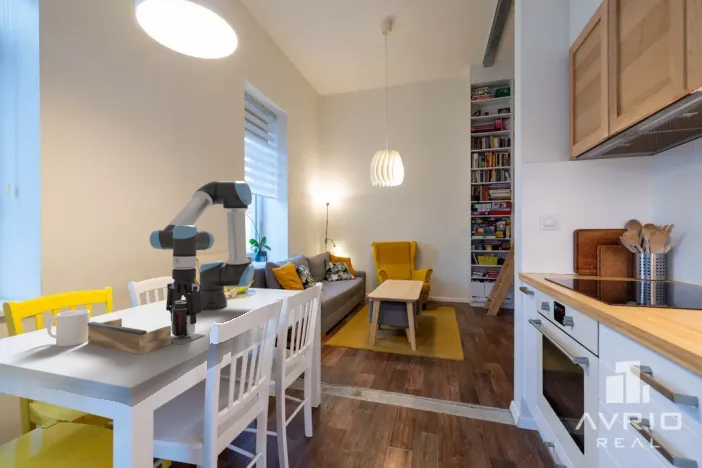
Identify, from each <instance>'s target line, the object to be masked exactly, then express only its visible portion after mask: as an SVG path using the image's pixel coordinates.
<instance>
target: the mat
mask: <svg viewBox="0 0 702 468" xmlns="http://www.w3.org/2000/svg"><path fill="white" fill-rule="evenodd" d="M205 336H206V335H205V334H202V333H196V332H194V333H191V334H190V335H187V336H183V337H177V336H175V335H173V334H172V335H171V344H174V345H177V346H178V345H179V346H183V345H185V344H188V343H190V342H193V341H196V340H198V339H200V338H203V337H205Z"/></svg>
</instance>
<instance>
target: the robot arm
mask: <svg viewBox="0 0 702 468" xmlns="http://www.w3.org/2000/svg"><path fill="white" fill-rule="evenodd" d="M252 200H253V194H252V190H251V187H250V185H249V184H248V183H247V182H245V181H241V180H240V181H239V180H214V181H210V182H208V183H205V184H204V185H202V186H200V188H198V189H196V191H194V192H193V194H192V196H191V200H189V202H187V204H186V205H185V206H184V207H183V208H182V209H181V210H180V211H179V212H178V213H177V214H176V215H175V217H174V218H173V219H172V220H171V221H170V222H169V223H168V224H167V226H165V227H164V228H163V229H162V230H161V229H157V230H153V231H152V232H151V233H150V235H149V244H150V246H151V247H152V248H153V249H156V250H164V251H165V250H169V251H170V250H172V268H173V269H172V271H171V272H172V273H171V278H172V280H173V282H171V283H167V284H166V288H167V296H166V305H165V306H166V307H165V310H166V311H167V312H168V311H169V313H170V322H171V325H170V326H171V332H172V308H173V305H174V304H175V301H179V300H182V298H183V297H184V298H185V299H184V300H186V303H187V307H188V311H189V315H188V316H187V334H191V333H196V323H197V315H198V314H200V313H202V310H203V309H208V310H217V309H216V308H218V309H222V307H223V308H225V307H227V306H228V299H227V297H226V294H225V288H226V287H227V288H228V287H229V288H231V287H233V288H235V287H236V288H244V287H245V288H247V287H249V286H250V285H251V284H252V282H253V278H254V275H255V266H254V265H253V264H252V263H250V259H249V258H247V235H246V234H247V233H246V231H247V230H246V213H245V212H246V211H247V210H248V208H249V206H250V205H251V204H252ZM215 205H222V207H223V210H225V212H226V222H227V223H226V224H227V226H226V227H227V228H226V229H227V244H228V245H227V249H228V251H227V252H228V259H226V261H225V260H221V261H220V260H218V261H211V262H205V263H204V262H203V263H202V264H201V265H200V267H199V284H198V285H197V284H196V283H195V279H196V278H197V269H196V267H197V251H205V250H208V249H211V248H212V247H213V246H214V243H215V237H214V235H213V234H212V233H211V232H209V231H206V230H198V228H197V226H195V224H196V222H197V221H198V220H199V219H200V218H201V216H202V215H203V214H204V213H205V211H206V210H207V209H210V208H211V207H213V206H215ZM192 311H193V312H192Z"/></svg>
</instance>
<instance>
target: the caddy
mask: <svg viewBox="0 0 702 468" xmlns="http://www.w3.org/2000/svg"><path fill="white" fill-rule="evenodd" d="M122 324H123V318H121V317H120V318H115V319H111V320H107V321H102V322H96V321H91V322H90V323H88V341H87V344H89V345H94V346H99V347H102V348H104V347H105V348H108V349H113V350H118V351H123V352H127V353H132V354H137V355H145V354H147V353H150V352H153V351H155V350H159V349H160V348H163V347H166V346H168V345H169V346H170V345H171V344H172V343H171V336H172V331H171V325H167V326H163V327H161V328H157V329H153V330H150V331H148V332H147V330H143V329H138V328H132V327H126V326H123V325H122Z"/></svg>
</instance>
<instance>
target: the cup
mask: <svg viewBox="0 0 702 468" xmlns="http://www.w3.org/2000/svg"><path fill="white" fill-rule="evenodd" d="M90 316H91V312H90V310H89V309H79V310H78V309H75V310H68V311H62V312H59V313H57V314H56V316H53V317H51V318H49V319H48V323H47V327H46V330H47V334H48V336H49V337H51V338H53V339H55V344H56V346H57V347H59V348H62V347H74V346H79V345H82V344H84V343H86V342H87V343H88V323H90V319H91V318H90ZM54 321H56V322H55V323H56V325H55V326H56V327H55V328H56V331H55V333H54V331H53V330H52V329H53V322H54Z"/></svg>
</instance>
